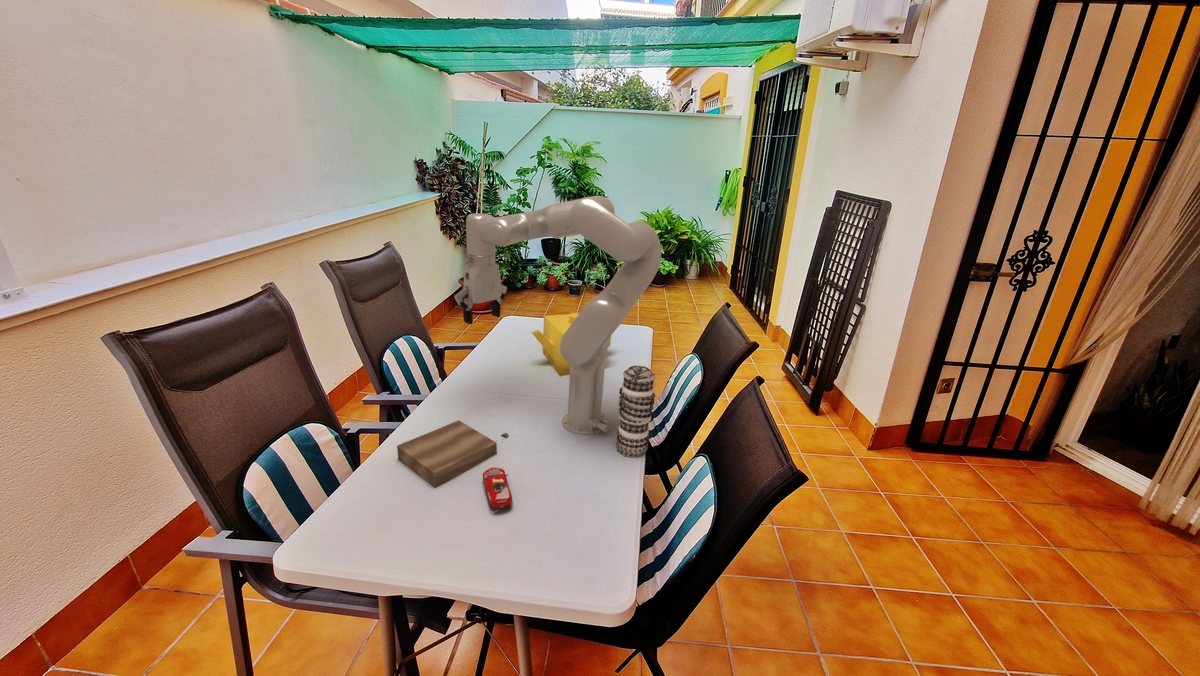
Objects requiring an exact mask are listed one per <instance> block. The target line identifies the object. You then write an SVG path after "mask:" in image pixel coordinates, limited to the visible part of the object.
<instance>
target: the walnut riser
mask: <svg viewBox="0 0 1200 676" xmlns="http://www.w3.org/2000/svg"><path fill="white" fill-rule="evenodd" d="M497 444H498V443H497V442H496V441H494V440H492V439H491V438H489V437H488V436H486V435H485V434H483V433H482V432H480V431H478V430H477V429H474V428H473V427H471V426H469V425H468V424H466V423H465V422H463V421H461V420H460V419H458V420H456V421H453V422H451V423H448V424H446V425H444V426H441V427H439V428H436V429H434V430H432V431H428V432H427V433H424V434H423V435H420V436H418V437H415V438H412V439H410V440H408V441H405V442H403V443H401V444H398V445H396V449H397V459H398V461H399V462H400V463H402V464H403V465H405V467H407V468H409V469H410V470H411V471H412V472H414V473H415V474H417V475H418V476H419V477H420V478H422V480H424V481H425V482H427V483H428V484H429V485H431V486H432V487H433V488H435V489H436V488H438V487H440V486H442V485H444V484H445V483H448V482H450V481H451V480H454V479H456V478H457V477H459V476H460V475H462V474H464V473H466V472H467V471H469V470H471V469H473V468H474V467H476V466H478V465H480V464H482V463H483V462H484V461H487V460H488V459H491V457H494V456H496V455H497V453H498V447H497V446H498V445H497Z"/></svg>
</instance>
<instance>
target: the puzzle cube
mask: <svg viewBox="0 0 1200 676" xmlns="http://www.w3.org/2000/svg"><path fill="white" fill-rule="evenodd" d="M509 436H510V435H509V434H508V432H504V433H502V434H501V435H500V437H503V438H505V439H507V438H509Z"/></svg>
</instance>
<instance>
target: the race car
mask: <svg viewBox="0 0 1200 676" xmlns="http://www.w3.org/2000/svg"><path fill="white" fill-rule="evenodd" d="M482 481H483V486H484V489H485V493H486V497H487V500H488V501H487V502H488V506H489V507H490V508H491V509H492V510H495V511H496V510H500V509H501V510H502V509H506V508H509V507H511V506H512V505H513V494H512V491H511V488H510V484H509V481H508V474H507V473H506V471H505V470H504V469H503V468H500V467H490V468H487V469H486V470H485V471H483V473H482Z"/></svg>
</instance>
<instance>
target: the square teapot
mask: <svg viewBox="0 0 1200 676" xmlns="http://www.w3.org/2000/svg"><path fill="white" fill-rule="evenodd" d="M578 315H579V313H578V312H577V313H576V312H573V313H572V312H571V313H567V314H552V315H544V316H543V333H542V331H541V330H540V329H536V330H534V331H531V334H532V335H533V337H535V338H536V340H537V341H538V342H539V344H540V345H541V346H542V354H543V357H545V359H546V360H547V361H548V363H549V364H550V365H551V366H552V368H553V369H554V370H555V372H556V373H557V374H558V376H559V377H563V376H570V364H569V363H568V362H566V361H565V360H564V358H563V357H562V355H561V352H560V342H561V339H562V337H563V335H564V334H565V332H566V331H567V330H568V328H569V327H570V326H571V324H572V323H573V321H574V320H575V319H576V317H577V316H578ZM611 340H612V335H611V336H610V338H609V343H608V348H609V347H611ZM607 355H608V354H607ZM607 355H606V359H607ZM606 369H607V360H606V361H605V370H606Z"/></svg>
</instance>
